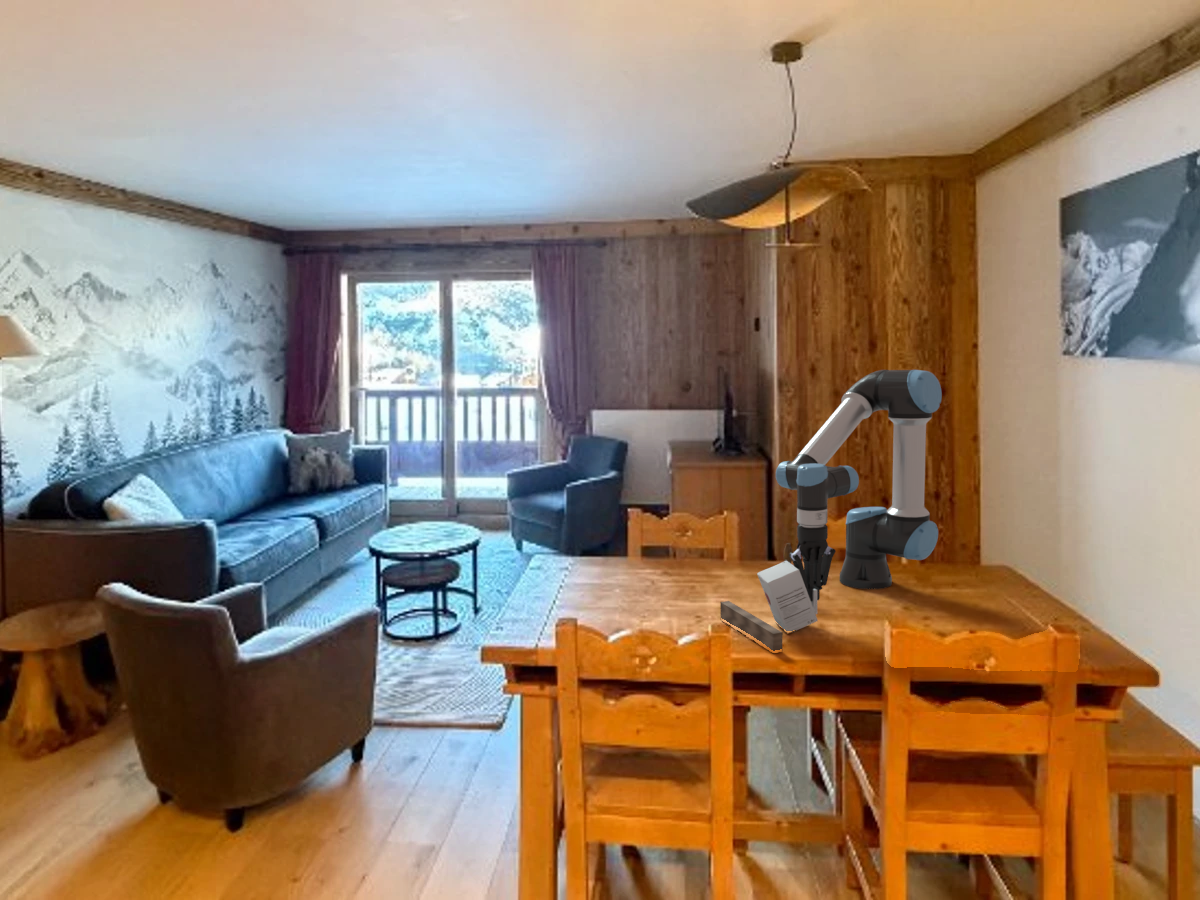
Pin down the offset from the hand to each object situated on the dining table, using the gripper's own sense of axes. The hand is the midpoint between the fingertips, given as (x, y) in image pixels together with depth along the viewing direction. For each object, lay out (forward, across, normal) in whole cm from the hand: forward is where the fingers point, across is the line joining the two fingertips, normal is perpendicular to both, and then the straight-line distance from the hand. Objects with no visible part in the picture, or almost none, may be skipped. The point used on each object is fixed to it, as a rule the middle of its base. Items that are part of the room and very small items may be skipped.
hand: (812, 612), depth 208 cm
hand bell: (+4, +7, +23) cm, 24 cm away
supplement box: (+2, -5, 0) cm, 5 cm away
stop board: (+3, -19, 0) cm, 19 cm away
